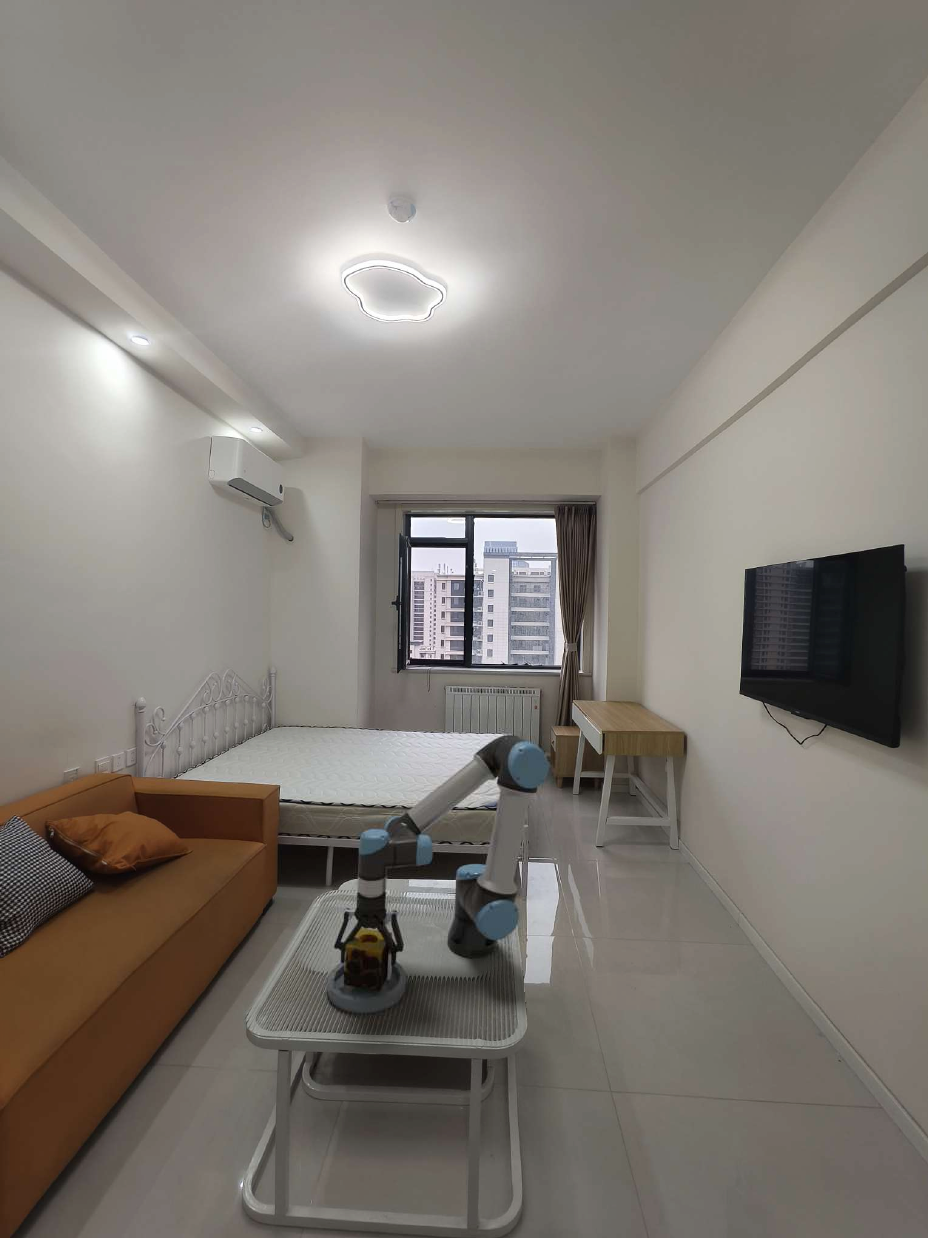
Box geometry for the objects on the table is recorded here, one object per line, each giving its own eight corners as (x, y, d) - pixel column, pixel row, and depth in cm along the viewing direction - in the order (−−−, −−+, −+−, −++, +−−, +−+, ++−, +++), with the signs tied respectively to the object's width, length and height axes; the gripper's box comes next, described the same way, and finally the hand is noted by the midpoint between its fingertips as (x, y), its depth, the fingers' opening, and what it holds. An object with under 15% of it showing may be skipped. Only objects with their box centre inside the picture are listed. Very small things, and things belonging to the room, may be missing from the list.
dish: (408, 968, 164) (409, 957, 164) (400, 1015, 144) (401, 1003, 144) (337, 964, 164) (337, 954, 164) (319, 1012, 144) (320, 999, 144)
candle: (380, 992, 148) (381, 952, 148) (342, 986, 150) (344, 947, 150) (392, 969, 158) (393, 932, 158) (356, 963, 160) (358, 927, 160)
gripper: (416, 887, 158) (413, 969, 158) (331, 883, 158) (327, 965, 158) (414, 900, 150) (410, 986, 150) (324, 896, 150) (320, 982, 150)
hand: (367, 975), depth 154 cm, fingers closed on candle, 11 cm apart
